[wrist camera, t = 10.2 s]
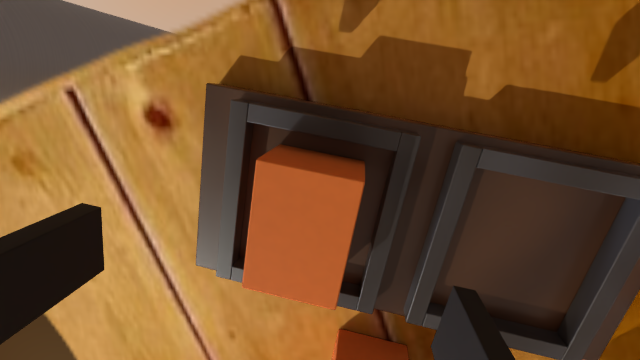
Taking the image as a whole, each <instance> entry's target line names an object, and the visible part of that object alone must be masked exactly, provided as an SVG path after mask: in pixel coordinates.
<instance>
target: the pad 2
mask: <svg viewBox="0 0 640 360" xmlns="http://www.w3.org/2000/svg"><path fill="white" fill-rule="evenodd" d="M331 360H409V356H408V350H407V346H406V345H402V344H398V343H394V342H390V341H386V340H382V339H378V338H374V337H370V336H366V335H362V334H358V333H354V332H350V331H346V330H342V329H339V330H338V334H337V339H336V343H335V347H334V351H333V355H332V359H331Z"/></svg>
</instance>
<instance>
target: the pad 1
mask: <svg viewBox="0 0 640 360" xmlns="http://www.w3.org/2000/svg"><path fill="white" fill-rule="evenodd" d="M364 185H365V162H364V161H360V160H355V159H350V158H345V157H340V156H335V155H330V154H326V153H321V152H316V151H311V150H306V149H301V148H296V147H291V146H286V145H281V144H280V145H278V146H276V147H275V148H273V149H272V150H270V151H269V152H267V153H265V154H264V155H262V156H261V157H259V158H258V159H257V160H256V166H255V175H254V184H253V193H252V201H251V210H250V219H249V228H248V237H247V246H246V254H245V263H244V272H243V281H242V287H243V288H246V289H250V290H254V291H258V292H262V293H266V294H270V295H274V296H279V297H283V298H287V299H291V300H295V301H299V302H303V303H307V304H311V305H315V306H319V307H324V308H328V309H332V310H335V309H336V307H337V302H338V298H339V294H340V289H341V285H342V281H343V276H344V272H345V268H346V263H347V259H348V255H349V250H350V246H351V242H352V237H353V233H354V229H355V224H356V220H357V216H358V211H359V207H360V203H361V198H362V194H363V190H364Z"/></svg>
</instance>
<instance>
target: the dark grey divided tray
mask: <svg viewBox="0 0 640 360" xmlns="http://www.w3.org/2000/svg"><path fill="white" fill-rule="evenodd" d="M280 144H281V145H286V146H291V147H296V148H301V149H306V150H311V151H316V152H321V153H326V154H330V155H335V156H340V157H345V158H350V159H355V160H360V161H364V162H365V185H364V190H363V194H362V198H361V203H360V207H359V211H358V216H357V220H356V224H355V229H354V233H353V237H352V242H351V246H350V250H349V255H348V259H347V263H346V268H345V272H344V276H343V281H342V285H341V289H340V294H339V298H338V302H337V306H340V307H344V308H348V309H352V310H357V311H360V312H364V313H369V314H372V313H373V310H374V309H378V310H382V311H386V312H391V313H395V314H399V315H403V316H405V320H406V322H407V323H411V324H415V325H419V326H423V327H427V328H431V329H435V330H437V329H438V326H439V323H440V321H441V318H442V315H443V312H444V310H445V307H446V304H447V302H448V299H449V296H450V293H451V291H452V288H453V285H454V286H459V287H463V288H468V289H472V290H476V292H477V293H478V295H479V297H480V299H481V300H482V302H483V304H484V306H485V307H486V309H487V311H488V313H489V314H490V316H491V318H492V320H493V321H494V323H495V325H496V327H497V328H498V330H499V332H500V334H501V335H502V337H503V339H504V341H505V342H506V344H507V346H508V347H509V348H513V349H517V350H521V351H525V352H529V353H533V354H537V355H541V356H546V357H550V358H554V359H558V360H582V359H585V360H598V359H599V358H600V356H601V354H602V353H603V351H604V349H605V347H606V346H607V344H608V342H609V341H610V339H611V337H612V336H613V334H614V332H615V330H616V329H617V327H618V325H619V324H620V322H621V320H622V318H623V317H624V315H625V313H626V312H627V310H628V308H629V307H630V305H631V303H632V301H633V300H634V298H635V296H636V295H637V293H638V291H639V290H640V164H639V163H634V162H628V161H623V160H618V159H613V158H607V157H602V156H597V155H592V154H586V153H581V152H576V151H571V150H565V149H560V148H555V147H550V146H544V145H539V144H534V143H528V142H523V141H518V140H513V139H507V138H502V137H497V136H492V135H486V134H481V133H476V132H471V131H465V130H460V129H455V128H450V127H444V126H439V125H434V124H428V123H423V122H418V121H413V120H407V119H402V118H397V117H392V116H386V115H381V114H376V113H371V112H365V111H360V110H355V109H350V108H344V107H339V106H334V105H328V104H323V103H318V102H313V101H307V100H302V99H297V98H292V97H286V96H281V95H276V94H271V93H265V92H260V91H255V90H249V89H244V88H239V87H234V86H228V85H223V84H215V83H207V84H206V101H205V118H204V135H203V152H202V169H201V185H200V202H199V219H198V236H197V253H196V265H197V266H201V267H205V268H209V269H213V270H216V276H217V277H221V278H225V279H231V280H233V281H237V282H241V283H242V281H243V272H244V263H245V254H246V246H247V237H248V228H249V219H250V210H251V201H252V193H253V184H254V175H255V166H256V160H257V159H258V158H259V157H261V156H262V155H264V154H265V153H267V152H269V151H270V150H272V149H273V148H275V147H276V146H278V145H280Z"/></svg>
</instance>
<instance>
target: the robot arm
mask: <svg viewBox="0 0 640 360" xmlns="http://www.w3.org/2000/svg"><path fill="white" fill-rule="evenodd" d="M103 270H104V255H103V236H102V217H101V207H97V206H92V205H88V204H83V203H81V204H79V205H76V206H74V207H72V208H69V209H67V210H65V211H62V212H60V213H57V214H55V215H53V216H50V217H48V218H46V219H43V220H41V221H39V222H36V223H34V224H31V225H29V226H27V227H24V228H22V229H20V230H17V231H15V232H12V233H10V234H8V235H5V236H3V237H1V238H0V344H2V343H3V342H4V341H6V340H7V339H9V338H10V337H11V336H13V335H14V334H15V333H17V332H18V331H20V330H21V329H23V328H24V327H25V326H27V325H28V324H30V323H31V322H32V321H34V320H35V319H36V318H38V317H39V316H41V315H42V314H43V313H45V312H46V311H48V310H49V309H50V308H52V307H53V306H55V305H56V304H57V303H59V302H60V301H61V300H63V299H64V298H66V297H67V296H68V295H70V294H71V293H73V292H74V291H75V290H77V289H78V288H80V287H81V286H82V285H84V284H85V283H87V282H88V281H89V280H91V279H92V278H93V277H95V276H96V275H98V274H99V273H100V272H102V271H103ZM431 348H432V352H433V356H434V359H435V360H515V358H514V356H513V355H512V353H511V351H510V349H509V348H508V346H507V344H506V342H505V341H504V339H503V337H502V335H501V334H500V332H499V330H498V328H497V327H496V325H495V323H494V321H493V320H492V318H491V316H490V314H489V313H488V311H487V309H486V307H485V306H484V304H483V302H482V300H481V299H480V297H479V295H478V293H477V292H476V290H472V289H468V288H463V287H459V286H454V285H453V288H452V291H451V293H450V296H449V299H448V302H447V304H446V307H445V310H444V312H443V315H442V318H441V321H440V323H439V326H438V329H437V331H436V334H435V337H434V340H433V342H432V345H431Z"/></svg>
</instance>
